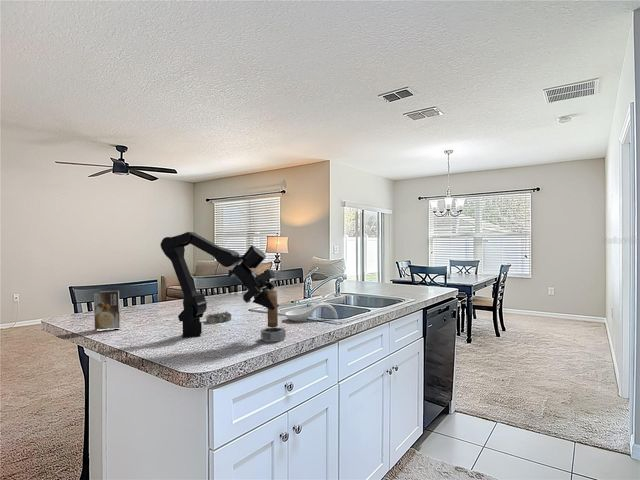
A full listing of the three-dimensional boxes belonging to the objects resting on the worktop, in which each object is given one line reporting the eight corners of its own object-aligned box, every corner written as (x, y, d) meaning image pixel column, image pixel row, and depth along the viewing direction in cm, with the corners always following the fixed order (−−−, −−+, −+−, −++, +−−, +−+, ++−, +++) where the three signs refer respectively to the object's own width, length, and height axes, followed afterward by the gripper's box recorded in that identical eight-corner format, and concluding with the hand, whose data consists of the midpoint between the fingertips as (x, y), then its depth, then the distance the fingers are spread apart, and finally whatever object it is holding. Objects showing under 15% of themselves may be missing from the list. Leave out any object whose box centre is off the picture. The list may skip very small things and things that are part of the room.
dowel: (271, 327, 135) (271, 291, 135) (265, 326, 137) (265, 290, 137) (279, 326, 137) (279, 290, 137) (273, 324, 140) (273, 289, 140)
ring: (263, 343, 132) (263, 333, 132) (259, 337, 140) (259, 328, 140) (287, 340, 134) (287, 331, 134) (281, 335, 142) (281, 326, 142)
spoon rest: (285, 323, 164) (285, 307, 164) (284, 318, 175) (284, 303, 175) (339, 321, 167) (339, 305, 167) (334, 316, 179) (334, 300, 179)
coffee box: (120, 327, 163) (120, 289, 163) (119, 330, 157) (119, 291, 157) (96, 329, 159) (95, 291, 159) (94, 332, 153) (93, 293, 153)
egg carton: (209, 324, 166) (209, 315, 166) (204, 321, 172) (204, 312, 172) (232, 321, 171) (232, 312, 171) (227, 318, 178) (227, 309, 178)
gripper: (250, 263, 129) (281, 296, 126) (270, 260, 147) (298, 289, 144) (230, 286, 131) (260, 319, 128) (252, 280, 149) (279, 309, 146)
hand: (275, 308), depth 137 cm, fingers closed on dowel, 4 cm apart
